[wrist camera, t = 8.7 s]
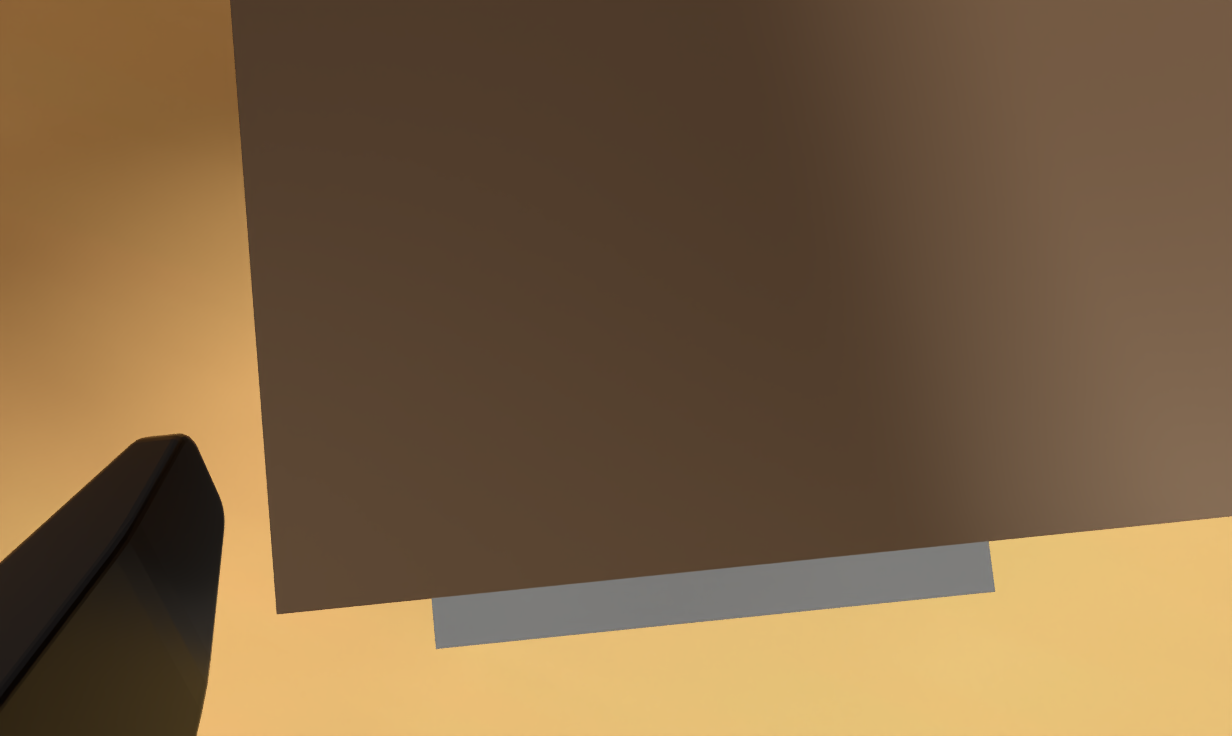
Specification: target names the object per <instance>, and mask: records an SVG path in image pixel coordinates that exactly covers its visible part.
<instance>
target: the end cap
mask: <svg viewBox="0 0 1232 736" xmlns="http://www.w3.org/2000/svg"><path fill="white" fill-rule="evenodd" d="M986 592H995V587H994V579H993V572H992V564H991V557H990V549H989V542H988V541H986V542H976V543H966V544H956V545H947V546H937V547H927V548H917V549H908V550H898V551H888V552H878V553H869V554H859V555H849V556H839V557H830V558H820V559H810V560H800V561H791V562H781V563H771V564H762V565H752V566H742V567H732V568H723V569H713V570H703V571H693V572H684V573H674V574H664V575H654V576H645V577H635V578H625V579H615V580H606V581H596V582H586V583H577V584H567V585H557V586H547V587H538V588H528V589H518V590H508V591H499V592H489V593H479V594H469V595H460V596H450V597H440V598H432V608H433V620H434V631H435V642H436V649H440V648H449V647H459V646H469V645H479V644H488V643H498V642H508V641H518V640H527V639H537V638H547V637H557V636H566V635H576V634H586V633H596V632H605V631H615V630H625V629H635V628H645V627H654V626H664V625H674V624H684V623H693V622H703V621H713V620H723V619H732V618H742V617H752V616H762V615H771V614H781V613H791V612H801V611H810V610H820V609H830V608H840V607H849V606H859V605H869V604H879V603H889V602H898V601H908V600H918V599H928V598H937V597H947V596H957V595H967V594H976V593H986Z"/></svg>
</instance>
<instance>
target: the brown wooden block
mask: <svg viewBox="0 0 1232 736" xmlns="http://www.w3.org/2000/svg"><path fill="white" fill-rule="evenodd" d="M230 3H231V17H232V30H233V43H234V56H235V69H236V83H237V96H238V109H239V122H240V135H241V149H242V162H243V175H244V188H245V201H246V214H247V228H248V241H249V254H250V267H251V280H252V294H253V307H254V320H255V333H256V346H257V359H258V373H259V386H260V399H261V412H262V425H263V439H264V452H265V465H266V478H267V491H268V505H269V518H270V531H271V544H272V557H273V570H274V584H275V597H276V610H277V614H284V613H294V612H304V611H314V610H323V609H333V608H343V607H353V606H362V605H372V604H382V603H392V602H401V601H411V600H421V599H430V598H440V597H450V596H460V595H469V594H479V593H489V592H499V591H508V590H518V589H528V588H538V587H547V586H557V585H567V584H577V583H586V582H596V581H606V580H615V579H625V578H635V577H645V576H654V575H664V574H674V573H684V572H693V571H703V570H713V569H723V568H732V567H742V566H752V565H762V564H771V563H781V562H791V561H800V560H810V559H820V558H830V557H839V556H849V555H859V554H869V553H878V552H888V551H898V550H908V549H917V548H927V547H937V546H947V545H956V544H966V543H976V542H986V541H995V540H1005V539H1015V538H1024V537H1034V536H1044V535H1054V534H1063V533H1073V532H1083V531H1093V530H1102V529H1112V528H1122V527H1132V526H1141V525H1151V524H1161V523H1171V522H1180V521H1190V520H1200V519H1209V518H1219V517H1229V516H1232V0H230Z"/></svg>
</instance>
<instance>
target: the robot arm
mask: <svg viewBox="0 0 1232 736" xmlns="http://www.w3.org/2000/svg"><path fill="white" fill-rule="evenodd" d="M223 536H224V511H223V506H222V502H221V499H220V497H219V494H218V492H217V490H216V488H215V485H214V483H213V481H212V479H211V476H210V474H209V472H208V470H207V468H206V465H205V463H204V461H203V459H202V456H201V454H200V452H199V450H198V448H197V446H196V444H195V442H194V441H193V440H192V439H191V438H190V437H189V436H187V435H184V434H170V435H161V436H152V437H145V438H141V439H138V440H136V441H135V442H134V443H132V444H131V445H130V446H129V447H128V448H127V449H125V450H124V451H123V452H122V453H121V454H120V455H119V456H118V457H117V458H115V459H114V460H113V461H112V462H111V463H110V464H109V465H108V466H107V467H106V468H104V469H103V470H102V471H101V472H100V473H99V474H98V475H97V476H96V477H94V478H93V479H92V480H91V481H90V482H89V483H88V484H87V485H86V486H84V487H83V488H82V489H81V490H80V491H79V492H78V493H77V494H76V495H75V496H73V497H72V498H71V499H70V500H69V501H68V502H67V503H66V504H65V505H63V506H62V507H61V508H60V509H59V510H58V511H57V512H56V513H55V514H53V515H52V516H51V517H50V518H49V519H48V520H47V521H46V522H45V523H44V524H42V525H41V526H40V527H39V528H38V529H37V530H36V531H35V532H34V533H32V534H31V535H30V536H29V537H28V538H27V539H26V540H25V541H24V542H22V543H21V544H20V545H19V546H18V547H17V548H16V549H15V550H14V551H12V552H11V553H10V554H9V555H8V556H7V557H6V558H5V559H4V560H3V561H1V562H0V736H197V731H198V727H199V723H200V718H201V714H202V709H203V704H204V699H205V694H206V689H207V683H208V676H209V668H210V661H211V652H212V642H213V632H214V623H215V613H216V603H217V594H218V584H219V575H220V565H221V555H222V546H223Z"/></svg>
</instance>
